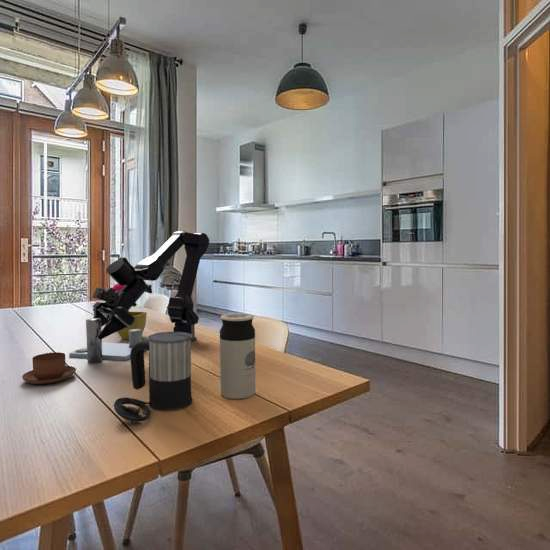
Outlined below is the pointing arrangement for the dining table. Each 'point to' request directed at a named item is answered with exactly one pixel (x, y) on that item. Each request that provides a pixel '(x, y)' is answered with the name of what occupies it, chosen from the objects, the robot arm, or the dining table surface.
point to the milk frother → (160, 375)
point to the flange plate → (114, 348)
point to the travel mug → (237, 356)
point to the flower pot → (134, 324)
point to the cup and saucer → (49, 369)
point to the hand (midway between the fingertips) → (93, 335)
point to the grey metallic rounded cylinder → (94, 341)
